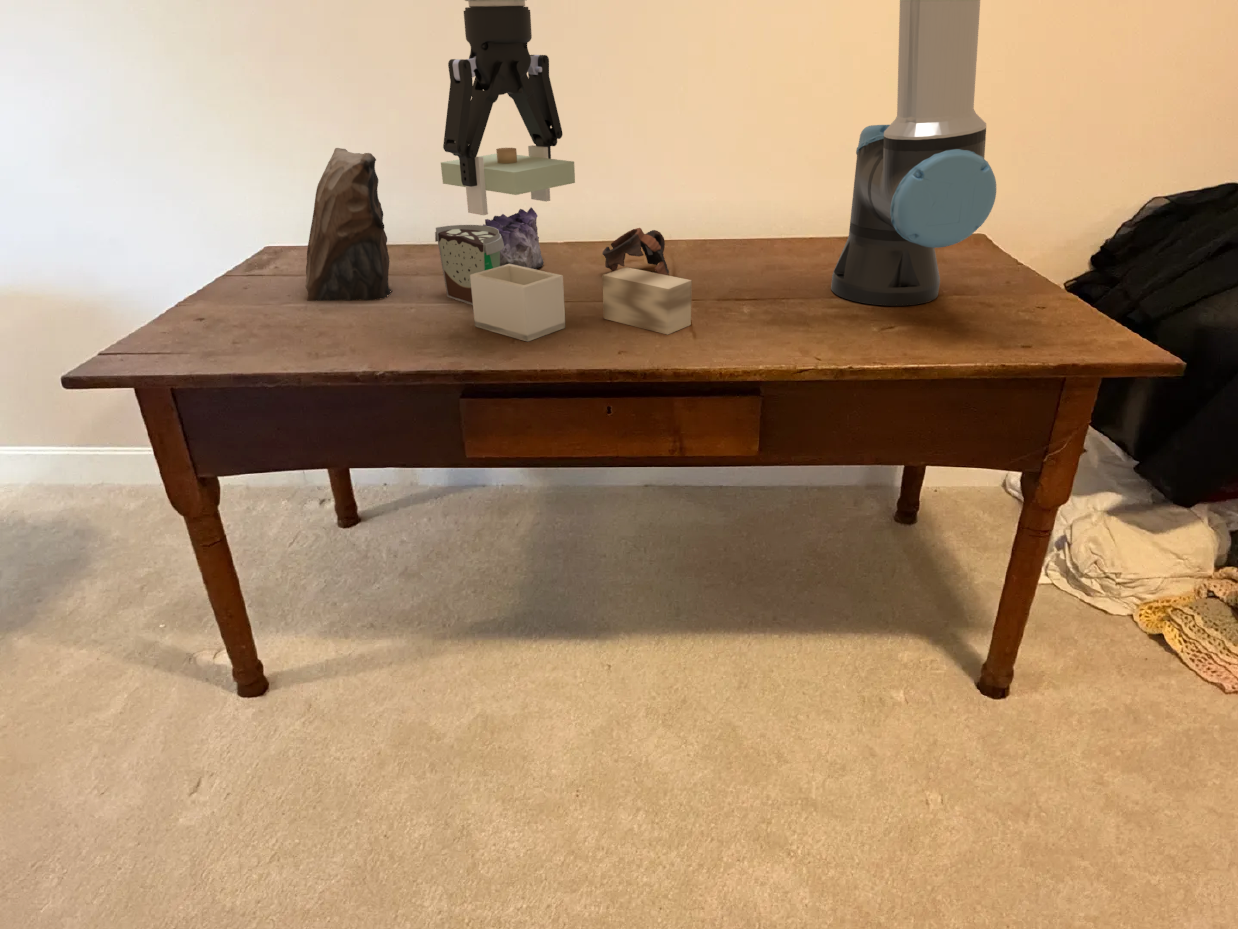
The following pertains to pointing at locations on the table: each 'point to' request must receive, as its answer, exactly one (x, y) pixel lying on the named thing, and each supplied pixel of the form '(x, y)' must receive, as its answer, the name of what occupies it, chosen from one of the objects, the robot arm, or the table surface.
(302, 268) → the table surface
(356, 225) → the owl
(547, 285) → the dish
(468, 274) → the food container
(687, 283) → the marbled stone block
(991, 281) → the table surface
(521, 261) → the geode
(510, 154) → the lid
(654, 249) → the pottery mug
